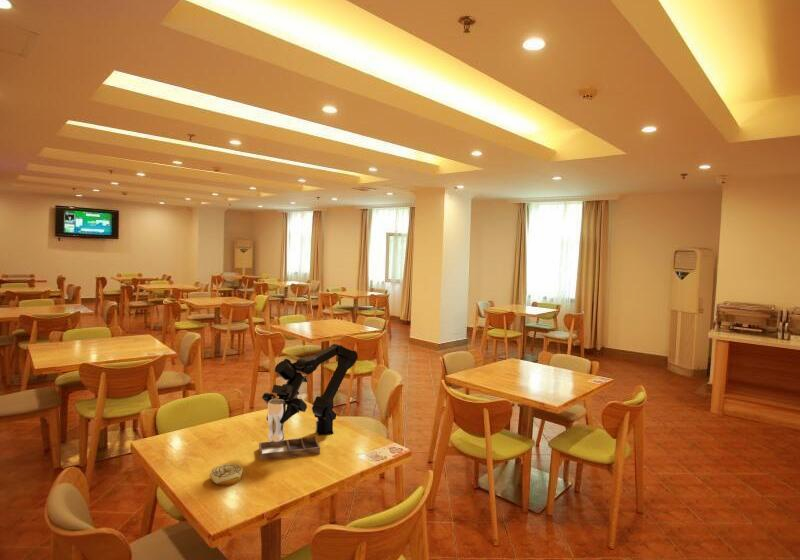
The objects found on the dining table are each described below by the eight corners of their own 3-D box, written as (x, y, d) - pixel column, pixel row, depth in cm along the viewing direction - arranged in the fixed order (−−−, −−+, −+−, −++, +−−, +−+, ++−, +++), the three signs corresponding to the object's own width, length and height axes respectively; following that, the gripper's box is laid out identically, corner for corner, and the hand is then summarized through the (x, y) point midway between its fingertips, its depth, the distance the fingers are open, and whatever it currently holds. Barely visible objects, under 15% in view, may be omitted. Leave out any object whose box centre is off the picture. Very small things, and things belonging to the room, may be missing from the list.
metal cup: (288, 437, 182) (290, 400, 181) (277, 444, 176) (278, 405, 174) (274, 433, 185) (275, 397, 183) (262, 440, 178) (263, 402, 177)
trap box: (315, 442, 192) (315, 436, 192) (319, 453, 181) (320, 447, 181) (259, 448, 185) (259, 442, 184) (260, 460, 174) (260, 454, 174)
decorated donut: (213, 490, 153) (213, 479, 152) (207, 476, 161) (207, 466, 161) (246, 482, 158) (246, 471, 158) (237, 469, 167) (237, 459, 167)
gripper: (264, 372, 186) (245, 408, 177) (302, 379, 178) (284, 416, 169) (277, 386, 194) (259, 421, 184) (314, 393, 186) (297, 429, 176)
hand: (274, 421), depth 178 cm, fingers closed on metal cup, 6 cm apart
